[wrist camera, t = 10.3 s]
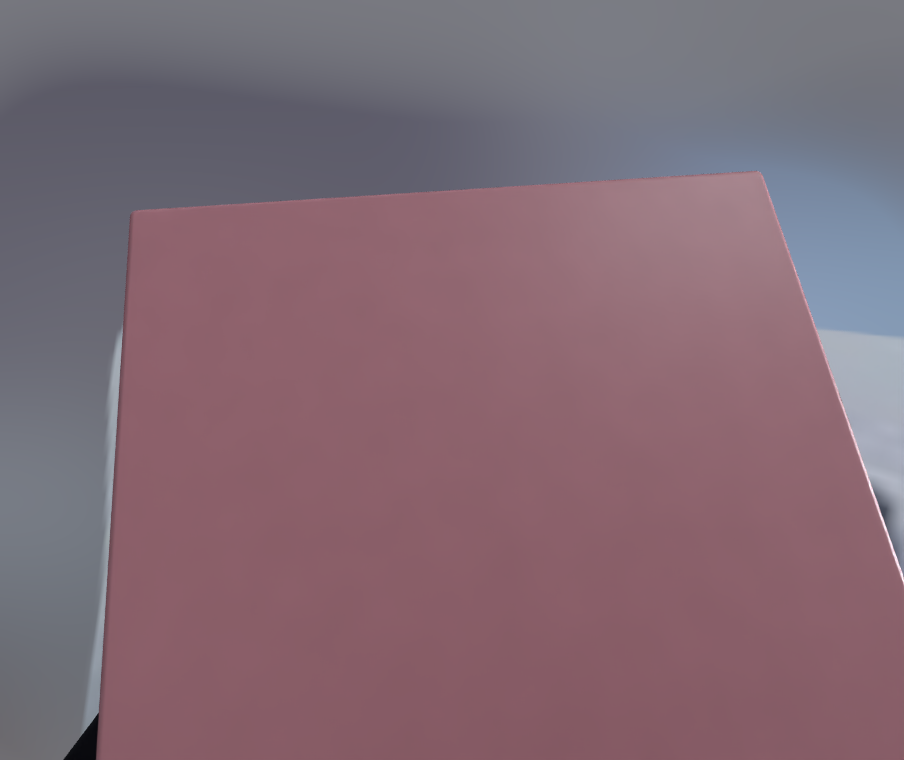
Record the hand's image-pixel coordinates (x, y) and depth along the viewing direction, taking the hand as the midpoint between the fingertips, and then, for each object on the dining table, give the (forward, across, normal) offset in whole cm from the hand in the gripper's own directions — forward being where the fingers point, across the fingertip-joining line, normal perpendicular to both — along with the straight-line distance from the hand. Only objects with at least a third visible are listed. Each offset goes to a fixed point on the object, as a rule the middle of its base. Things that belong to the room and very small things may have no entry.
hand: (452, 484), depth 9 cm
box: (+4, 0, +7) cm, 8 cm away
